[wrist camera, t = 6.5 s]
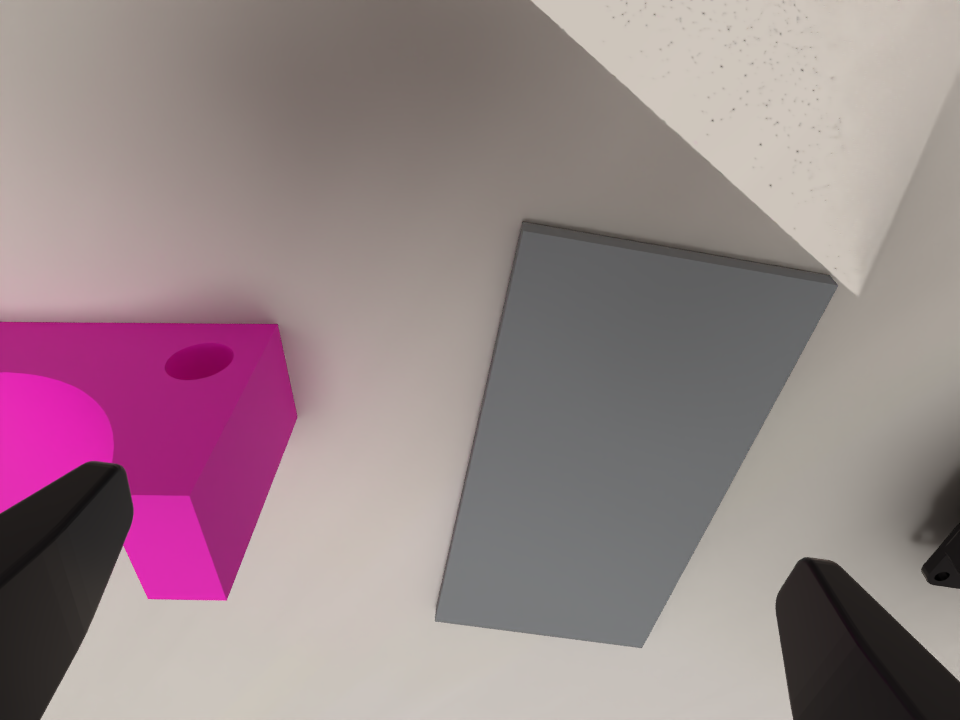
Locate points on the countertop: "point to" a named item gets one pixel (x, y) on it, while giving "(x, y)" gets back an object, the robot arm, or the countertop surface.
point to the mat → (614, 428)
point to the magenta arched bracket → (153, 433)
